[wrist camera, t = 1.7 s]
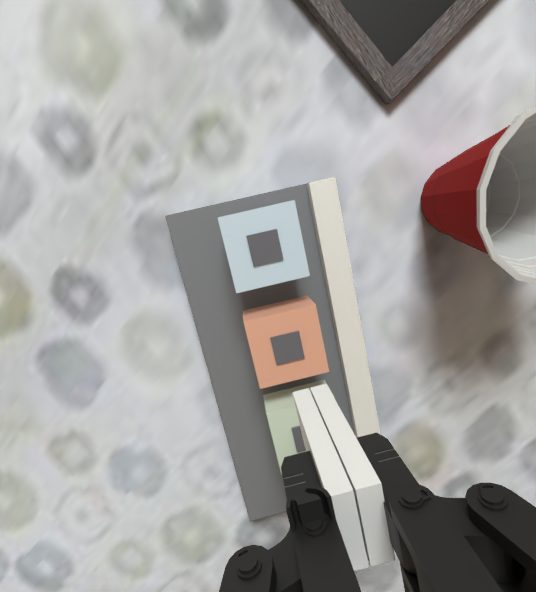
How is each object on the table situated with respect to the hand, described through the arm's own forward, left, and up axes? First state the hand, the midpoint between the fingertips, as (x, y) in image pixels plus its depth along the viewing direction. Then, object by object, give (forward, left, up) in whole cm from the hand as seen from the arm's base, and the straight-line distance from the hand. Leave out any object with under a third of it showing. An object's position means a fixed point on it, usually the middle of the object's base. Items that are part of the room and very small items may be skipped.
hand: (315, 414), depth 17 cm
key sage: (-7, 0, -12) cm, 14 cm away
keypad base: (-4, 0, -16) cm, 17 cm away
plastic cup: (+6, -17, -17) cm, 25 cm away
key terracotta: (0, 0, -12) cm, 12 cm away
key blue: (+7, 0, -12) cm, 14 cm away
